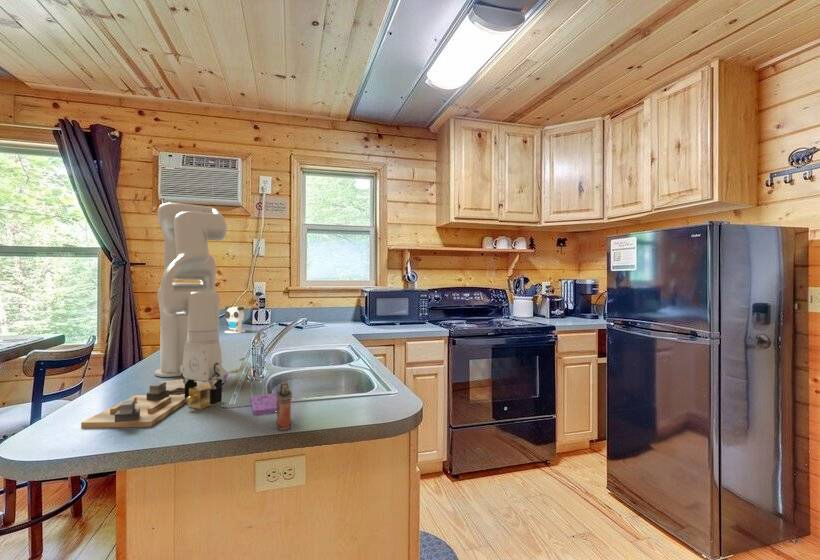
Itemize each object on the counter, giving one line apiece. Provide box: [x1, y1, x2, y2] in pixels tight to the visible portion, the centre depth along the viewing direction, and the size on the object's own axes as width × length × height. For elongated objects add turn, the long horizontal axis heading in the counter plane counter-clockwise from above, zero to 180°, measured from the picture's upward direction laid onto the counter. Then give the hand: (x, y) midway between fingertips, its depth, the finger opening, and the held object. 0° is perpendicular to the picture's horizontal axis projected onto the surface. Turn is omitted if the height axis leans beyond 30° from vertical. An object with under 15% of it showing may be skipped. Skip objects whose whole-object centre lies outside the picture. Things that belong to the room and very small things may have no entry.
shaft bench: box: [80, 381, 185, 429], centre depth 100 cm, size 20×15×5 cm
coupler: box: [185, 384, 218, 410], centre depth 106 cm, size 9×4×5 cm, turn 155°
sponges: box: [250, 392, 277, 416], centre depth 106 cm, size 7×13×2 cm, turn 25°
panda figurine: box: [224, 305, 246, 334], centre depth 234 cm, size 12×11×15 cm
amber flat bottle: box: [275, 381, 293, 433], centre depth 93 cm, size 8×3×10 cm, turn 21°
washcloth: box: [159, 378, 224, 395], centre depth 120 cm, size 12×18×3 cm, turn 124°
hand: (203, 400), depth 106 cm, fingers open, 9 cm apart
